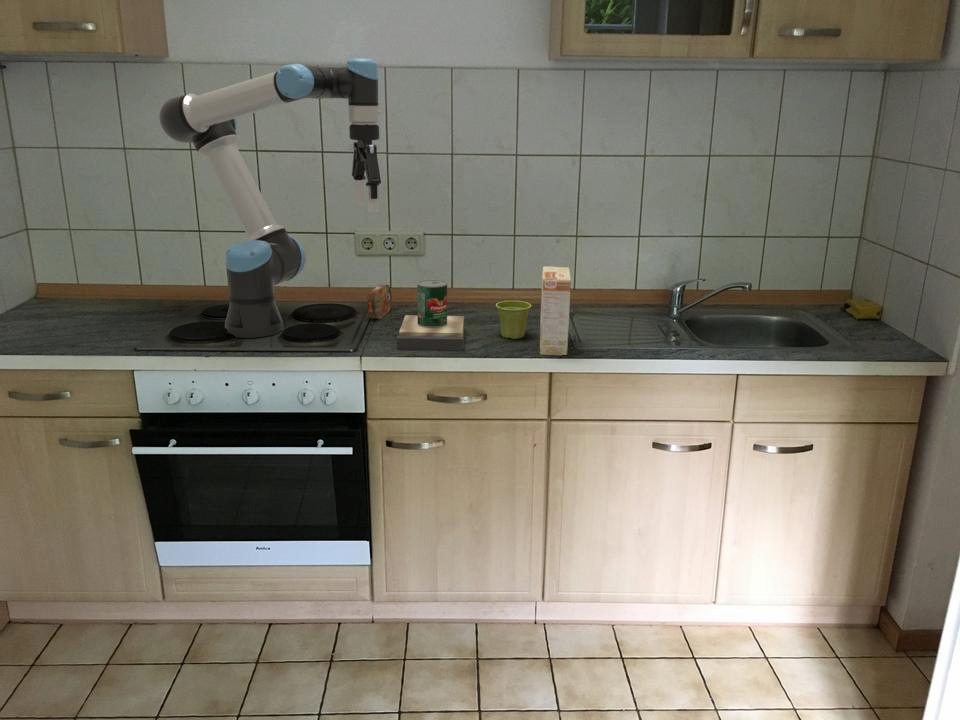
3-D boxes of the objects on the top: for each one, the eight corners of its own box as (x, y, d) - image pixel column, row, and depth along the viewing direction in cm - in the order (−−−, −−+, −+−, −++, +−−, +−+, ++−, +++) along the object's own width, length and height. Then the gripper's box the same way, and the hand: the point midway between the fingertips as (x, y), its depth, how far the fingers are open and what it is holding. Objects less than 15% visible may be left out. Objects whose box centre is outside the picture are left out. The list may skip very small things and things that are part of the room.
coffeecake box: (539, 337, 209) (542, 265, 203) (566, 338, 208) (570, 266, 202) (538, 355, 195) (542, 278, 188) (567, 356, 194) (571, 279, 188)
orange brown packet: (376, 322, 220) (375, 293, 218) (366, 321, 221) (365, 292, 218) (392, 309, 234) (392, 281, 232) (382, 308, 235) (382, 281, 232)
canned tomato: (438, 329, 200) (438, 287, 197) (411, 325, 203) (411, 284, 200) (452, 322, 207) (452, 281, 204) (426, 318, 210) (426, 278, 207)
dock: (396, 349, 197) (396, 334, 196) (404, 329, 214) (404, 315, 213) (463, 350, 197) (463, 335, 196) (465, 330, 214) (465, 316, 213)
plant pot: (505, 342, 204) (505, 310, 201) (489, 333, 212) (489, 302, 209) (536, 338, 208) (537, 307, 205) (519, 329, 216) (520, 299, 213)
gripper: (392, 125, 188) (394, 214, 195) (366, 122, 210) (368, 201, 217) (361, 125, 185) (364, 215, 192) (338, 121, 207) (341, 202, 214)
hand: (366, 208), depth 204 cm, fingers open, 13 cm apart
